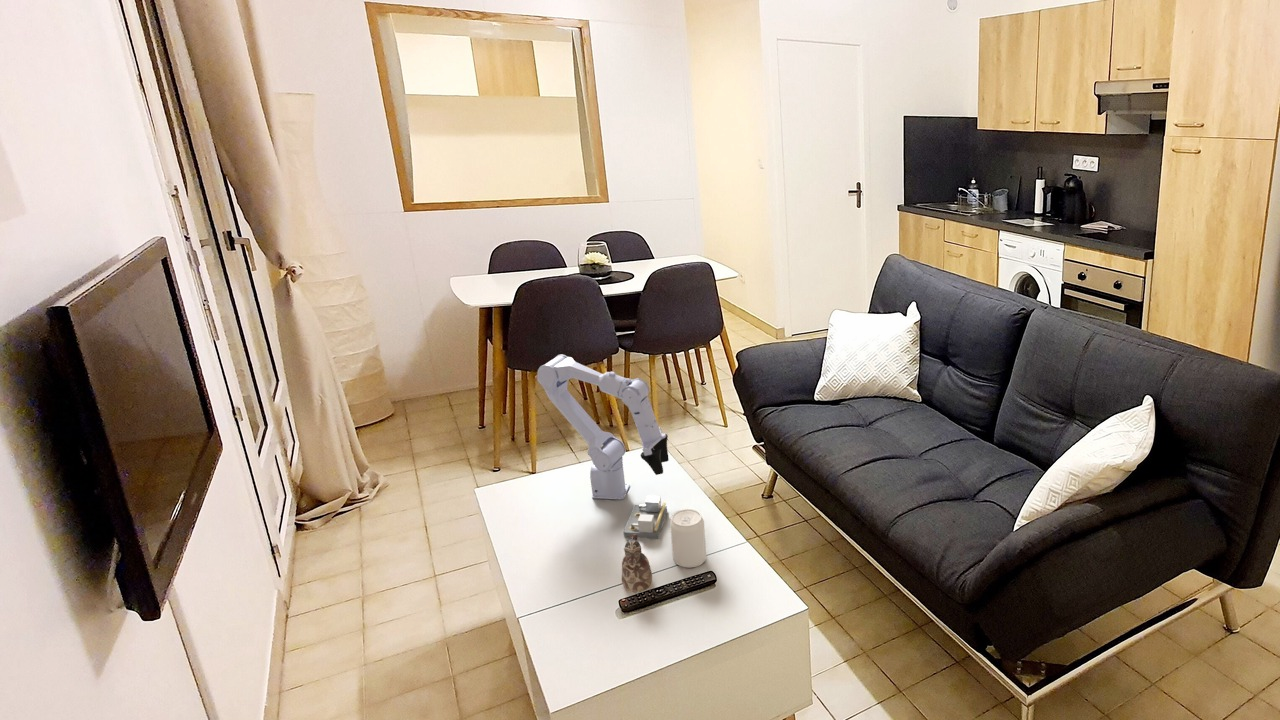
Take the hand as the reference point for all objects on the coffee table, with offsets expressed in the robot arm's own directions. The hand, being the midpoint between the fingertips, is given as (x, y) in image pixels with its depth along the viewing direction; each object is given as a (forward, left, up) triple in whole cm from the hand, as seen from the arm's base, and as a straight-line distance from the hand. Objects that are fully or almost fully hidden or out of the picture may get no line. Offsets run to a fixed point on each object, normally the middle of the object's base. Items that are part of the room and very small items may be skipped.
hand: (662, 467), depth 192 cm
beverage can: (+11, -25, -11) cm, 30 cm away
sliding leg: (-3, -7, -9) cm, 12 cm away
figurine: (0, -35, -11) cm, 37 cm away
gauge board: (-3, -11, -11) cm, 16 cm away
